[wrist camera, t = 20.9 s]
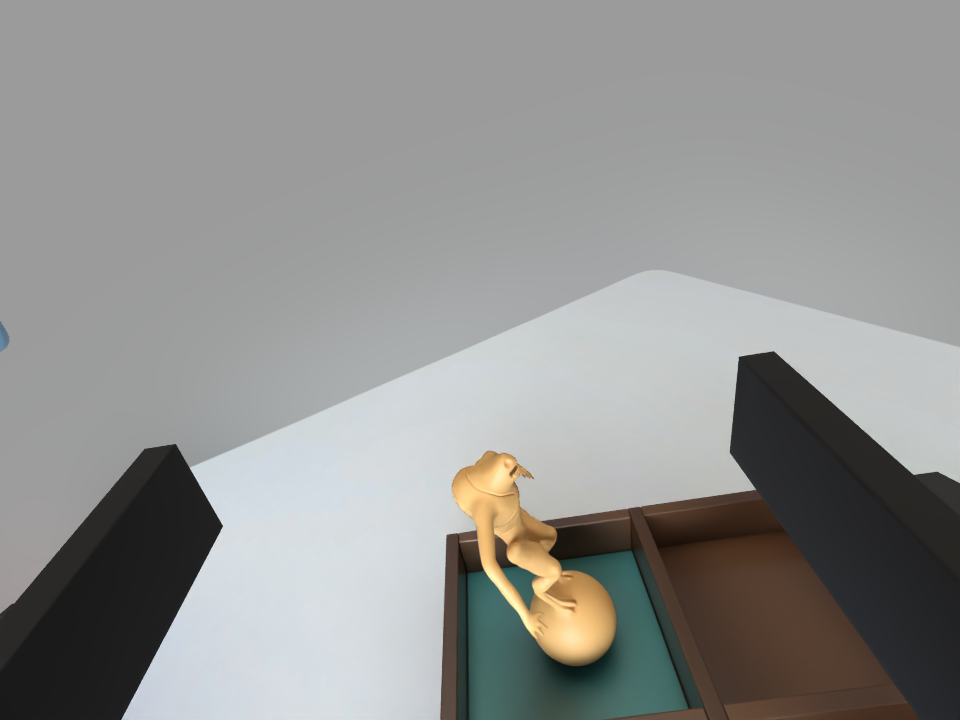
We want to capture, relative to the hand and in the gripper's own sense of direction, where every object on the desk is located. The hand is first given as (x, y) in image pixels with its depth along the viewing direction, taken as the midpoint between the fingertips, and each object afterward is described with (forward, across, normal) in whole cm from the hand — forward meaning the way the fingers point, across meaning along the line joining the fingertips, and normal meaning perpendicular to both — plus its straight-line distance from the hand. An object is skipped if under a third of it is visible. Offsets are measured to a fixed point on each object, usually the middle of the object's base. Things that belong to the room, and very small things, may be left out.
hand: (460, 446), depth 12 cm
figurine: (+5, +2, -17) cm, 18 cm away
